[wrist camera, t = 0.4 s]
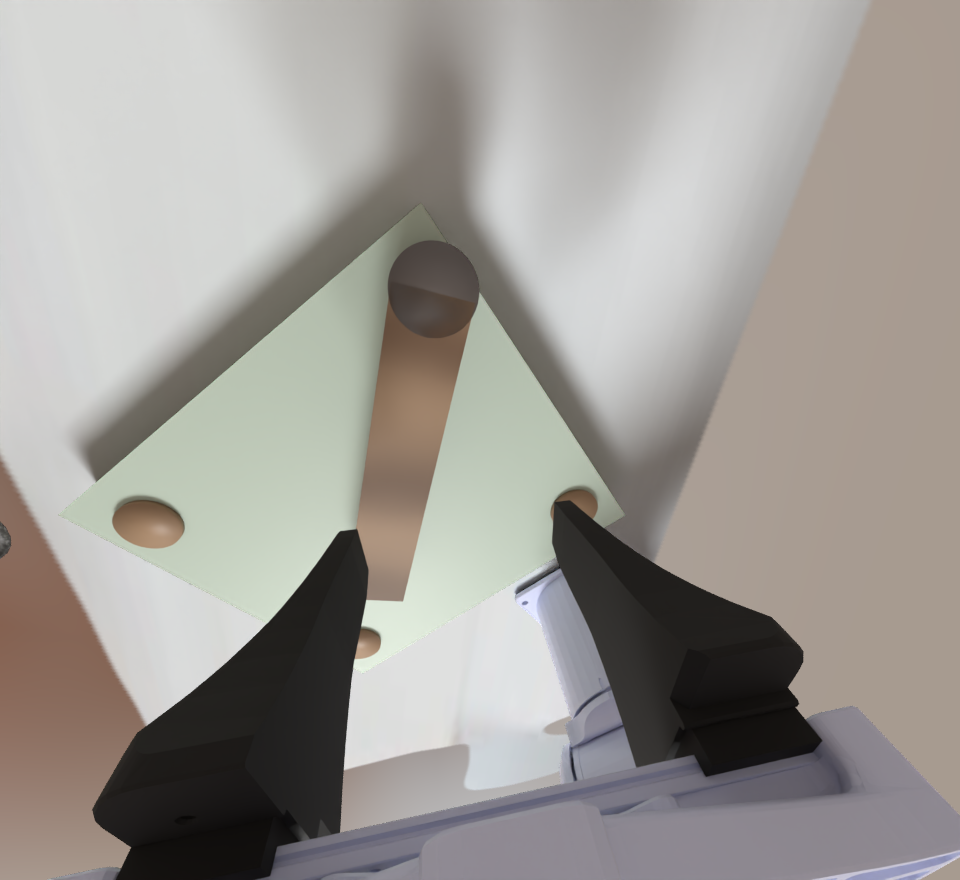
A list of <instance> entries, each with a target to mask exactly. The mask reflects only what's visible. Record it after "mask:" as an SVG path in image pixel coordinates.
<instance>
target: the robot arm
mask: <svg viewBox="0 0 960 880" xmlns="http://www.w3.org/2000/svg"><path fill="white" fill-rule="evenodd" d="M552 545H553V548H554V551H555V554H556V557H557V560H558V563H559V566H560V569H558V570H556V571H555V572H553V573H551V574H550V575H548V576H546V577H545V578H543V579H541V580H540V581H538V582H536V583H535V584H533V585H531V586H530V587H528V588H526V589H525V590H523V591H521V592H520V593H518V594H517V595H516V596H515V600H516V603H517V604H519V605H520V606H521V607H522V608H523V609H524V610H525V611H526V612H527V613H529V614H530V615H531V616H532V617H533V618H534V619H535V620H536V621H538V622H539V623H540V624H541V626H542V629H543V632H544V636H545V639H546V642H547V645H548V648H549V651H550V654H551V657H552V660H553V663H554V666H555V669H556V673H557V676H558V679H559V682H560V685H561V688H562V691H563V694H564V697H565V700H566V703H567V706H568V710H569V713H570V716H571V719H572V720H571V721H569V722H567V723H566V724H565V727H566V730H567V734H568V737H569V740H570V743H567V744H565V745H564V746H563V749H562V754H561V761H560V782H561V784H560V785H555V786H550V787H546V788H541V789H537V790H533V791H528V792H523V793H519V794H514V795H510V796H505V797H500V798H496V799H492V800H487V801H482V802H478V803H473V804H469V805H464V806H460V807H455V808H451V809H446V810H441V811H437V812H433V813H428V814H424V815H419V816H414V817H410V818H406V819H401V820H396V821H391V822H387V823H382V824H378V825H373V826H369V827H364V828H360V829H355V830H351V831H346V832H342V833H340V822H341V804H342V785H343V771H344V757H345V743H346V731H347V720H348V708H349V699H350V689H351V679H352V672H353V666H354V660H355V655H356V650H357V645H358V640H359V635H360V630H361V625H362V620H363V615H364V610H365V604H366V599H367V589H368V574H369V569H368V566H367V562H366V558H365V555H364V551H363V548H362V544H361V540H360V537H359V533H358V530H357V529H353V530H345V531H339V533H338V534H337V535H336V536H335V538H334V539H333V541H332V542H331V544H330V545H329V547H328V548H327V549H326V551H325V552H324V554H323V555H322V557H321V558H320V559H319V561H318V562H317V564H316V565H315V566H314V568H313V569H312V570H311V572H310V573H309V574H308V576H307V577H306V578H305V580H304V581H303V582H302V583H301V585H300V586H299V587H298V588H297V590H296V591H295V592H294V593H293V594H292V596H291V597H290V598H289V599H288V601H287V602H286V603H285V604H284V605H283V606H282V608H281V609H280V610H279V611H278V612H277V613H276V614H275V615H274V617H273V618H272V619H271V620H270V621H269V622H268V623H267V624H266V625H265V626H264V627H263V628H262V629H261V630H260V631H259V632H258V633H257V634H256V635H255V636H254V637H253V638H252V639H251V640H250V641H249V642H248V643H247V644H246V645H245V646H244V647H243V648H242V649H241V650H239V651H238V652H237V653H236V654H235V655H234V656H233V657H232V658H231V659H230V660H229V661H228V662H227V663H225V664H224V665H223V666H222V667H221V668H220V669H219V670H217V671H216V672H215V673H214V674H213V675H212V676H210V677H209V678H208V679H207V680H206V681H204V682H203V683H202V684H201V685H199V686H198V687H197V688H196V689H195V690H193V691H192V692H191V693H190V694H188V695H187V696H186V697H185V698H183V699H182V700H181V701H179V702H178V703H177V704H175V705H174V706H173V707H171V708H170V709H169V710H167V711H166V712H165V713H163V714H162V715H161V716H159V717H158V718H157V719H155V720H154V721H153V722H151V723H150V724H149V725H147V726H146V727H145V728H143V729H142V730H141V731H139V732H138V733H137V734H136V736H135V737H134V739H133V740H132V742H131V743H130V745H129V747H128V748H127V750H126V751H125V753H124V755H123V756H122V758H121V760H120V762H119V764H118V765H117V767H116V769H115V770H114V772H113V774H112V775H111V777H110V779H109V781H108V782H107V784H106V786H105V788H104V789H103V791H102V793H101V795H100V796H99V798H98V800H97V801H96V804H95V805H94V807H93V809H92V810H93V814H94V818H95V821H96V822H97V823H98V824H99V825H100V826H101V827H102V828H103V829H105V830H106V831H108V832H109V833H111V834H112V835H114V836H115V837H117V838H118V839H120V840H121V841H123V842H124V843H126V844H127V845H129V846H130V847H131V849H130V851H129V854H128V855H127V857H126V860H125V862H124V864H123V866H122V868H117V867H106V868H98V869H93V870H88V871H84V872H79V873H74V874H70V875H65V876H61V877H56V878H51V879H48V880H920V879H922V878H924V877H925V876H927V875H929V874H931V873H932V872H934V871H936V870H938V869H939V868H941V867H943V866H945V865H947V864H948V863H950V862H952V861H954V860H956V859H957V858H959V857H960V815H959V814H958V813H957V812H956V811H955V810H954V809H953V808H952V807H951V805H950V804H949V803H948V802H947V801H946V800H945V799H944V798H943V797H942V796H941V795H940V794H939V793H938V792H937V791H936V790H935V789H934V788H933V787H932V785H931V784H930V783H929V782H927V780H926V779H925V778H924V777H923V776H922V775H921V774H920V773H919V772H918V771H917V770H916V769H915V768H914V767H913V766H912V764H910V762H909V761H908V760H907V759H906V758H905V757H904V756H903V755H902V754H901V753H900V752H899V751H898V750H897V749H896V748H895V747H894V746H893V744H892V743H891V742H890V741H889V740H888V739H887V738H886V737H885V736H884V735H883V734H882V733H881V732H880V731H879V730H878V729H877V728H876V727H875V726H874V725H873V724H872V723H871V721H869V719H868V718H867V717H866V716H865V715H864V714H863V713H862V712H861V711H860V710H859V709H858V708H857V707H854V706H849V707H845V708H840V709H835V710H831V711H826V712H821V713H818V714H815V715H812V716H811V717H809V718H807V719H806V720H805V719H804V717H803V716H802V715H801V714H800V713H799V711H798V710H797V709H796V708H795V707H797V706H798V704H799V703H798V700H797V698H796V697H795V696H794V695H793V694H792V692H791V691H790V690H789V689H788V686H789V685H790V683H791V682H792V680H793V679H794V677H795V676H796V674H797V672H798V671H799V669H800V667H801V665H802V663H803V650H802V649H801V647H800V646H799V645H798V644H797V643H796V642H795V641H794V640H793V639H792V638H791V637H790V636H789V634H788V633H787V632H786V631H784V629H783V628H782V627H781V626H780V625H779V624H778V623H777V622H776V621H775V620H774V619H773V618H772V617H770V616H767V615H765V614H762V613H759V612H756V611H754V610H751V609H748V608H746V607H743V606H741V605H738V604H735V603H733V602H730V601H728V600H726V599H723V598H721V597H718V596H716V595H714V594H712V593H710V592H707V591H705V590H703V589H701V588H699V587H697V586H695V585H693V584H691V583H689V582H687V581H685V580H683V579H681V578H679V577H677V576H675V575H673V574H671V573H670V572H668V571H666V570H664V569H662V568H661V567H659V566H658V565H656V564H654V563H653V562H651V561H649V560H648V559H646V558H645V557H643V556H641V555H640V554H638V553H637V552H635V551H634V550H633V549H631V548H630V547H628V546H627V545H625V544H624V543H623V542H621V541H620V540H618V539H617V538H616V537H614V536H613V535H612V534H611V533H609V532H608V531H607V530H605V529H604V528H603V527H602V526H600V525H599V524H598V523H597V522H596V521H594V520H593V519H592V518H591V517H590V516H588V515H587V514H586V513H585V512H584V511H582V510H581V509H580V508H579V507H578V506H577V505H575V504H574V503H573V502H572V501H571V500H567V501H559V502H554V515H553V532H552Z"/></svg>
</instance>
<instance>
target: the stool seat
mask: <svg viewBox="0 0 960 880" xmlns="http://www.w3.org/2000/svg"><path fill="white" fill-rule="evenodd" d="M428 240H435V241H441V242H445V243H447V241H446V240H445V238H444V237H443V235H442V234H441V232H440V231H439V229H438V228H437V226H436V225H435V223H434V222H433V220H432V218H431V217H430V215H429V214H428V212H427V211H426V209H425V208H424V206H423V205H422V203H420V204H419V205H418V206H416V207H415V208H414V209H413V210H412V211H411V212H410V213H408V214H407V215H406V216H405V217H404V218H403V219H401V220H400V221H399V222H398V223H397V224H396V225H394V226H393V227H392V228H391V229H390V230H389V231H387V232H386V233H385V234H384V235H383V236H382V237H380V238H379V239H378V240H377V241H376V242H375V243H374V244H372V245H371V246H370V247H369V248H368V249H367V250H365V251H364V252H363V253H362V254H361V255H360V256H358V257H357V258H356V259H355V260H354V261H353V262H351V263H350V264H349V265H348V266H347V267H346V268H344V269H343V270H342V271H341V272H340V273H339V274H338V275H336V276H335V277H334V278H333V279H332V280H331V281H329V282H328V283H327V284H326V285H325V286H324V287H322V288H321V289H320V290H319V291H318V292H317V293H315V294H314V295H313V296H312V297H311V298H310V299H308V300H307V301H306V302H305V303H304V304H303V305H301V306H300V307H299V308H298V309H297V310H296V311H295V312H293V313H292V314H291V315H290V316H289V317H288V318H286V319H285V320H284V321H283V322H282V323H281V324H279V325H278V326H277V327H276V328H275V329H274V330H272V331H271V332H270V333H269V334H268V335H267V336H265V337H264V338H263V339H262V340H261V341H260V342H259V343H257V344H256V345H255V346H254V347H253V348H252V349H250V350H249V351H248V352H247V353H246V354H245V355H243V356H242V357H241V358H240V359H239V360H238V361H236V362H235V363H234V364H233V365H232V366H231V367H229V368H228V369H227V370H226V371H225V372H224V373H223V374H221V375H220V376H219V377H218V378H217V379H216V380H214V381H213V382H212V383H211V384H210V385H209V386H207V387H206V388H205V389H204V390H203V391H202V392H200V393H199V394H198V395H197V396H196V397H195V398H193V399H192V400H191V401H190V402H189V403H188V404H187V405H185V406H184V407H183V408H182V409H181V410H180V411H178V412H177V413H176V414H175V415H174V416H173V417H171V418H170V419H169V420H168V421H167V422H166V423H164V424H163V425H162V426H161V427H160V428H159V429H157V430H156V431H155V432H154V433H153V434H152V435H150V436H149V437H148V438H147V439H146V440H145V441H144V442H142V443H141V444H140V445H139V446H138V447H137V448H135V449H134V450H133V451H132V452H131V453H130V454H128V455H127V456H126V457H125V458H124V459H123V460H121V461H120V462H119V463H118V464H117V465H116V466H114V467H113V468H112V469H111V470H110V471H109V472H108V473H106V474H105V475H104V476H103V477H102V478H101V479H99V480H98V481H97V482H96V483H95V484H94V485H92V486H91V487H90V488H89V489H88V490H87V491H85V492H84V493H83V494H82V495H81V496H80V497H78V498H77V499H76V500H75V501H74V502H73V503H72V504H70V505H69V506H68V507H67V508H66V509H65V510H63V511H62V512H61V513H60V514H59V516H61V517H63V518H65V519H67V520H68V521H70V522H72V523H74V524H76V525H78V526H80V527H82V528H84V529H86V530H88V531H90V532H92V533H93V534H95V535H97V536H99V537H101V538H103V539H105V540H107V541H109V542H111V543H113V544H115V545H117V546H118V547H120V548H122V549H124V550H126V551H128V552H130V553H132V554H134V555H136V556H138V557H140V558H142V559H143V560H145V561H147V562H149V563H151V564H153V565H155V566H157V567H159V568H161V569H163V570H165V571H167V572H168V573H170V574H172V575H174V576H176V577H178V578H180V579H182V580H184V581H186V582H188V583H190V584H192V585H193V586H195V587H197V588H199V589H201V590H203V591H205V592H207V593H209V594H211V595H213V596H215V597H216V598H218V599H220V600H222V601H224V602H226V603H228V604H230V605H232V606H234V607H236V608H238V609H240V610H241V611H243V612H245V613H247V614H249V615H251V616H253V617H255V618H257V619H259V620H261V621H263V622H265V623H266V624H267V623H268V622H269V621H270V620H271V619H272V618H273V617H274V615H275V614H276V613H277V612H278V611H279V610H280V609H281V608H282V606H283V605H284V604H285V603H286V602H287V601H288V599H289V598H290V597H291V596H292V594H293V593H294V592H295V591H296V590H297V588H298V587H299V586H300V585H301V583H302V582H303V581H304V580H305V578H306V577H307V576H308V574H309V573H310V572H311V570H312V569H313V568H314V566H315V565H316V564H317V562H318V561H319V559H320V558H321V557H322V555H323V554H324V552H325V551H326V549H327V548H328V547H329V545H330V544H331V542H332V541H333V539H334V538H335V536H336V535H337V534H338V533H339V531H345V530H353V529H356V525H357V518H358V511H359V504H360V497H361V490H362V482H363V475H364V468H365V461H366V454H367V447H368V440H369V433H370V426H371V419H372V412H373V404H374V397H375V390H376V383H377V376H378V369H379V362H380V355H381V348H382V341H383V334H384V327H385V319H386V312H387V305H388V298H389V297H388V287H387V286H388V277H389V273H390V270H391V267H392V265H393V263H394V261H395V260H396V259H397V257H398V256H399V255H400V254H401V253H402V252H403V251H404V250H405V249H406V248H408V247H409V246H411V245H413V244H415V243H418V242H422V241H428ZM567 500H571V501H572V502H573V503H574V504H575V505H577V506H578V507H579V508H580V509H581V510H582V511H584V512H585V513H586V514H587V515H588V516H590V517H591V518H592V519H593V520H594V521H596V522H597V523H598V524H599V525H600V526H602V527H603V528H605V527H607V526H609V525H610V524H612V523H614V522H615V521H617V520H619V519H620V518H622V517H624V516H625V514H624V512H623V511H622V509H621V508H620V506H619V504H618V503H617V501H616V500H615V498H614V497H613V495H612V494H611V492H610V491H609V489H608V488H607V486H606V485H605V483H604V482H603V480H602V478H601V477H600V475H599V474H598V472H597V471H596V469H595V468H594V466H593V465H592V463H591V462H590V460H589V459H588V457H587V456H586V454H585V452H584V451H583V449H582V448H581V446H580V445H579V443H578V442H577V440H576V439H575V437H574V436H573V434H572V433H571V431H570V430H569V428H568V426H567V425H566V423H565V422H564V420H563V419H562V417H561V416H560V414H559V413H558V411H557V410H556V408H555V407H554V405H553V404H552V402H551V400H550V399H549V397H548V396H547V394H546V393H545V391H544V390H543V388H542V387H541V385H540V384H539V382H538V381H537V379H536V378H535V376H534V374H533V373H532V371H531V370H530V368H529V367H528V365H527V364H526V362H525V361H524V359H523V358H522V356H521V355H520V353H519V352H518V350H517V348H516V347H515V345H514V344H513V342H512V341H511V339H510V338H509V336H508V335H507V333H506V332H505V330H504V329H503V327H502V326H501V324H500V322H499V321H498V319H497V318H496V316H495V315H494V313H493V312H492V310H491V309H490V307H489V306H488V304H487V303H486V301H485V300H484V298H483V296H482V295H481V293H480V292H479V300H478V305H477V308H476V311H475V313H474V315H473V317H472V319H471V323H470V327H469V331H468V335H467V339H466V343H465V348H464V352H463V356H462V360H461V364H460V368H459V372H458V376H457V381H456V385H455V389H454V393H453V397H452V401H451V405H450V410H449V414H448V418H447V422H446V426H445V430H444V434H443V438H442V443H441V447H440V451H439V455H438V459H437V463H436V467H435V472H434V476H433V480H432V484H431V488H430V492H429V496H428V500H427V505H426V509H425V513H424V517H423V521H422V525H421V529H420V534H419V538H418V542H417V546H416V550H415V554H414V558H413V562H412V567H411V571H410V575H409V579H408V583H407V587H406V591H405V596H404V600H403V602H401V601H378V600H366V604H365V610H364V615H363V620H362V625H361V630H360V635H359V640H358V645H357V650H356V655H355V660H354V666H353V669H355V670H357V671H359V672H361V673H363V674H364V673H365V672H367V671H368V670H370V669H372V668H373V667H375V666H377V665H378V664H380V663H382V662H383V661H385V660H387V659H388V658H390V657H392V656H393V655H395V654H397V653H398V652H400V651H402V650H403V649H405V648H407V647H408V646H410V645H412V644H413V643H415V642H417V641H418V640H420V639H422V638H423V637H425V636H426V635H428V634H430V633H431V632H433V631H435V630H436V629H438V628H440V627H441V626H443V625H445V624H446V623H448V622H450V621H451V620H453V619H455V618H456V617H458V616H460V615H461V614H463V613H465V612H466V611H468V610H470V609H471V608H473V607H475V606H476V605H478V604H480V603H481V602H483V601H484V600H486V599H488V598H489V597H491V596H493V595H494V594H496V593H498V592H499V591H501V590H503V589H504V588H506V587H508V586H509V585H511V584H513V583H514V582H516V581H518V580H519V579H521V578H523V577H524V576H526V575H528V574H529V573H531V572H533V571H534V570H536V569H538V568H539V567H541V566H542V565H544V564H546V563H547V562H549V561H551V560H552V559H554V558H556V554H555V551H554V548H553V545H552V532H553V515H554V502H559V501H567Z"/></svg>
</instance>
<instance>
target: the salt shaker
mask: <svg viewBox="0 0 960 880" xmlns="http://www.w3.org/2000/svg"><path fill="white" fill-rule="evenodd" d="M10 546H11V538H10V535H9V533H8V531H7V529H6V527H5V526H4V525H3V524H2V523H1V522H0V558H2V557H3V556H4V555H5V554H7V553H8V551H9V549H10Z"/></svg>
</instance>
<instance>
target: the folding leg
mask: <svg viewBox="0 0 960 880" xmlns="http://www.w3.org/2000/svg"><path fill="white" fill-rule="evenodd" d="M387 287H388V297H389V298H388V305H387V312H386V319H385V327H384V334H383V341H382V348H381V355H380V362H379V369H378V376H377V383H376V390H375V397H374V404H373V412H372V419H371V426H370V433H369V440H368V447H367V454H366V461H365V468H364V475H363V482H362V490H361V497H360V504H359V511H358V518H357V525H356V529H357V530H358V533H359V537H360V540H361V544H362V548H363V551H364V555H365V558H366V562H367V566H368V569H369V574H368V589H367V599H366V600H378V601H401V602H403V600H404V596H405V591H406V587H407V583H408V579H409V575H410V571H411V567H412V562H413V558H414V554H415V550H416V546H417V542H418V538H419V534H420V529H421V525H422V521H423V517H424V513H425V509H426V505H427V500H428V496H429V492H430V488H431V484H432V480H433V476H434V472H435V467H436V463H437V459H438V455H439V451H440V447H441V443H442V438H443V434H444V430H445V426H446V422H447V418H448V414H449V410H450V405H451V401H452V397H453V393H454V389H455V385H456V381H457V376H458V372H459V368H460V364H461V360H462V356H463V352H464V348H465V343H466V339H467V335H468V331H469V327H470V323H471V319H472V317H473V315H474V313H475V311H476V308H477V305H478V300H479V283H478V278H477V275H476V272H475V270H474V267H473V266H472V264H471V262H470V261H469V260H468V258H467V257H466V256H465V255H464V254H463V253H462V252H461V251H460V250H458V249H457V248H456V247H454V246H452V245H450V244H448V243H445V242H441V241H435V240H428V241H422V242H418V243H415V244H413V245H411V246H409V247H408V248H406V249H405V250H404V251H403V252H402V253H401V254H400V255H399V256H398V257H397V259H396V260H395V261H394V263H393V265H392V267H391V270H390V273H389V277H388V286H387Z"/></svg>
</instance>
